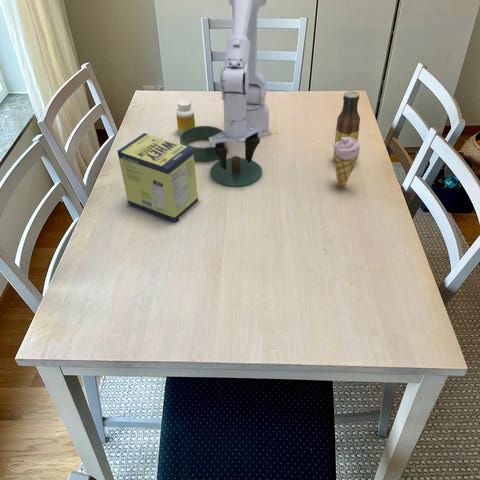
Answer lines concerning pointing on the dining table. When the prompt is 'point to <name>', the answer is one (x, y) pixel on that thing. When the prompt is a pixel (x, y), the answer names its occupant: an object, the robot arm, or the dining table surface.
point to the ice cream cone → (345, 158)
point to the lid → (236, 172)
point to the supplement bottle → (185, 116)
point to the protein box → (159, 176)
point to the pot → (201, 134)
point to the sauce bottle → (348, 118)
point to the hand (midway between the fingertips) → (236, 164)
